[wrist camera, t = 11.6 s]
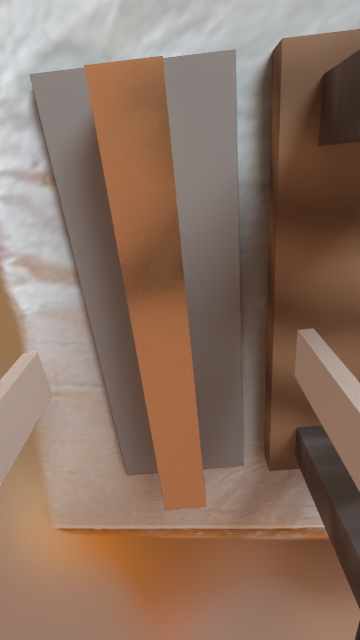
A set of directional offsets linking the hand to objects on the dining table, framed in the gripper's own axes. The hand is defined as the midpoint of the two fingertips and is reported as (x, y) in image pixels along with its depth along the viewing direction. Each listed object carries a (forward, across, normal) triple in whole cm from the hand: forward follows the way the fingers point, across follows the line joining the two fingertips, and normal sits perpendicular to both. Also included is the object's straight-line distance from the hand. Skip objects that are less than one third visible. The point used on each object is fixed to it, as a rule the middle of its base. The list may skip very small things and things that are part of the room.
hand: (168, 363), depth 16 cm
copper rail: (+5, 0, 0) cm, 5 cm away
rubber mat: (+6, 0, 0) cm, 6 cm away
